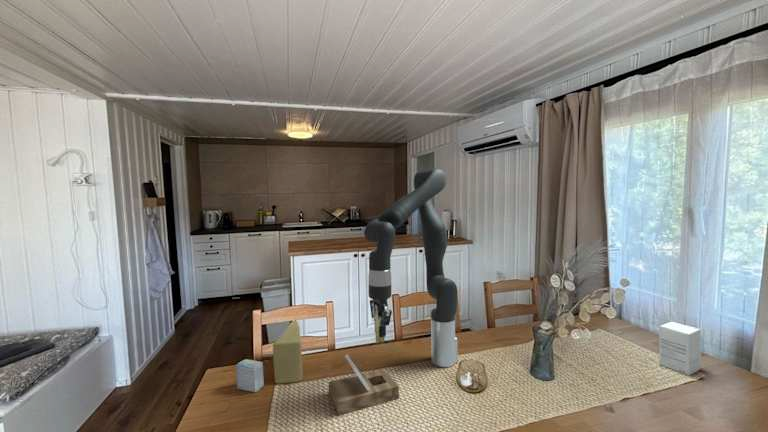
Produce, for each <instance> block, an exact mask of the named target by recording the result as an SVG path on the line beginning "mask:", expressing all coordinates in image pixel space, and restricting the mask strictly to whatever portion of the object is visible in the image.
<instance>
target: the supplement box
mask: <svg viewBox="0 0 768 432" xmlns="http://www.w3.org/2000/svg"><path fill="white" fill-rule="evenodd" d="M658 328H659V333H658V334H659V335H658V337H659V339H658V340H659V341H658V343H659V348H658V349H659V350H658V351H659V352H658V356H659V357H658V358H659V359H658V365H659V366H662V367H665V368H667V367H668V369H671V370H673V371H676V372H678V373H682V374H683V375H687V376H691V375H692V374H695V373H696V372H698V371H699V370H701V365H702V364H701V362H702V361H701V357H702V356H701V355H702V354H701V351H702V350H701V349H702V348H701V345H702V344H701V341H702V340H701V339H702V337H701V328H697V327H693V326H689V325H687V324H686V325H684V324H682V323H679V322H674V321H670V322H667V323H663V324H661V325H659V327H658Z"/></svg>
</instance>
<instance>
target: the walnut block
mask: <svg viewBox="0 0 768 432" xmlns="http://www.w3.org/2000/svg"><path fill="white" fill-rule="evenodd" d="M360 374H361V375H362V377H363V378H364V380H365V381H366V383H367V384H368V386H369V387H370V390H369V391H367V389H366V388H365V386H364V385H363V383H362V382H361V380H360V379H359V377H358V376H357V374H355V375H351V376H348V377H343V378H340V379H335V380H331V381H328V395H329V398H330V400H331V402H332V404H333V407H334V410H335V412H336V414H337V416H342V415H345V414H346V415H347V414H349V413H352V412H356V411H360V410H363V409H365V408H366V409H367V408H370V407H374V406H376V405H380V404H384V403H388V402H390V401H394V400H398V399H400V387H399V384H397V382H396V381H395V379H393V377H392V376H391V374H389V372H388V371H387V370H386V368H381V369H376V370H373V371H369V372H364V373H360Z"/></svg>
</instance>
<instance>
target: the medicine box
mask: <svg viewBox="0 0 768 432" xmlns="http://www.w3.org/2000/svg"><path fill="white" fill-rule="evenodd" d="M235 372H236V376H235V377H236V388H237V389H238V390H242V391H247V392H252V393H256V392H259V390H261V388H263V387H264V386H265V381H264V365H263V361H258V360H254V359H247V358H245V359H243V360H242V361H239V362H238V363H237V364H236V365H235Z"/></svg>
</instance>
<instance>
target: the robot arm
mask: <svg viewBox="0 0 768 432" xmlns="http://www.w3.org/2000/svg"><path fill="white" fill-rule="evenodd" d="M446 185H447V177H446V175H445V172H444V171H443V170H441V169H440V168H431V169H430V168H428V169H425V170H419V171H417V172H416V173H415V175H414V177H413V187H414V190H412V191H411V192H409V193H407V194H405V195H404V196H402V197H400V198H399V199H398V200H396V201H395V202H394V203H393V204H392V205H391V206H390V207H389V208H388V209H387V210H386V211H384V212H383V213H380V214H379V215H377V216H376V217H374V218H372V219H370V221H369V222H367V224H366V225H365V228H364V231H363V235H364V237H365V239H366V240H367V241H368V242H370V243H375V244H377V246H376V248H375V250H372V251H370V253H369V255H368V274H367V275H368V277H367V279H368V280H367V281H368V284H367V285H368V286H367V287H368V292H367V293H368V297H369V299H370V300H369V307H370V313H371V314H370V315H371V318H372V319H373V322H374V323H375V313H377V318H378V321H379V337H380V338H382V337H386V335H387V327H388V326H389V325H390V323H391V319H392V318H391V317H392V314H393V310H392V309H389V306H388V305H389V304H388V300H389V299H391V298H392V272H391V271H392V269H391V255H392V252H393V248H394V243H395V240H396V229H395V228H399V227H401V226H402V225H403V224H404V223H405V222H406V221H407V220H408V219H409V218H410V217H411V216H412V215H413V214H414V213H415V212H416V211H417V210H418V212H419V218H420V226H421V236H422V242H423V250H424V258H425V259H424V260H425V266H426V268H425V269H426V290H427V293H428V295H429V297H430V298H432V299H434V300H436V307H435V308H433V309H432V310H431V312H430V326H431V327H430V335H431V337H430V339H431V341H430V342H431V343H430V344H431V346H430V347H431V350H430V351H431V363H432V364H433V365H435V366H436V367H441V368H449V367H453V366H454V365H456V364H457V363H458V361H459V359H458V358H459V357H458V355H459V353H458V338H457V337H456V314H457V311H458V287H457V284H456V282H455V281H453V280H452V279H450V278H447V277H445V273H444V267H443V264H444V263H443V261H444V258H445V254H446V251H447V248H448V236H447V229H446V225H445V223H444V221H443V220H442V218H441V216H440V215H439V213H438V212H437V210H436V209H435V207H434V204H433V199H432V198H434V197H436V195H438V194H439V193H441V192H442V191H443V190H444V189H445V188H446ZM380 315H382V316H380ZM381 319H382V320H381ZM374 333H375V334H376V331H375V330H374Z"/></svg>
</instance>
